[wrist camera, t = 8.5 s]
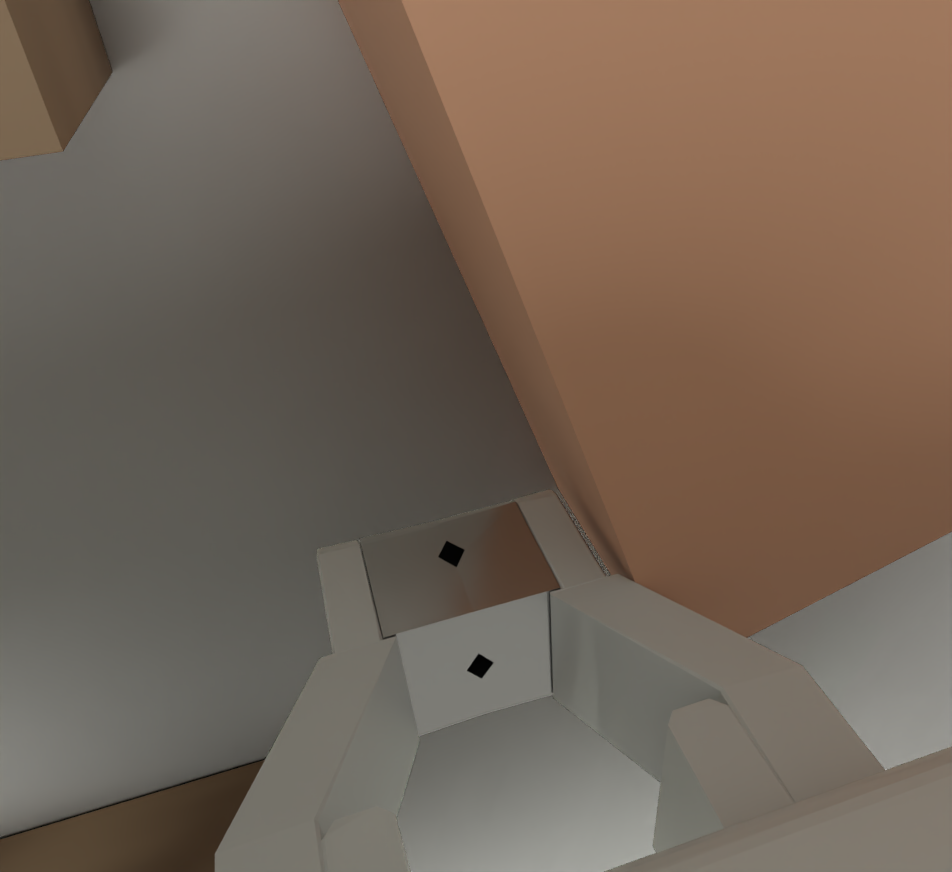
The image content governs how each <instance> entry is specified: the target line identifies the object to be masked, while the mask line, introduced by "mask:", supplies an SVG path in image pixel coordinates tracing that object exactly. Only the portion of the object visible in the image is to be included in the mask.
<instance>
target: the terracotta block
mask: <svg viewBox="0 0 952 872" xmlns="http://www.w3.org/2000/svg"><path fill="white" fill-rule="evenodd" d="M338 2H339V4H340V6H341V9H342V11H343V13H344V15H345V17H346V20H347V22H348V24H349V26H350V29H351V31H352V33H353V35H354V37H355V40H356V42H357V44H358V46H359V48H360V51H361V53H362V55H363V57H364V60H365V62H366V64H367V66H368V68H369V71H370V73H371V75H372V77H373V79H374V82H375V84H376V86H377V88H378V90H379V93H380V95H381V97H382V99H383V102H384V104H385V106H386V108H387V110H388V113H389V115H390V117H391V119H392V121H393V124H394V126H395V128H396V130H397V133H398V135H399V137H400V139H401V141H402V144H403V146H404V148H405V150H406V152H407V155H408V157H409V159H410V161H411V164H412V166H413V168H414V170H415V172H416V175H417V177H418V179H419V181H420V183H421V186H422V188H423V190H424V192H425V195H426V197H427V199H428V201H429V203H430V206H431V208H432V210H433V212H434V214H435V217H436V219H437V221H438V223H439V226H440V228H441V230H442V232H443V234H444V237H445V239H446V241H447V243H448V245H449V248H450V250H451V252H452V254H453V256H454V259H455V261H456V263H457V265H458V268H459V270H460V272H461V274H462V276H463V279H464V281H465V283H466V285H467V287H468V290H469V292H470V294H471V296H472V299H473V301H474V303H475V305H476V307H477V310H478V312H479V314H480V316H481V318H482V321H483V323H484V325H485V327H486V330H487V332H488V334H489V336H490V338H491V341H492V343H493V345H494V347H495V349H496V352H497V354H498V356H499V358H500V361H501V363H502V365H503V367H504V369H505V372H506V374H507V376H508V378H509V380H510V383H511V385H512V387H513V389H514V391H515V394H516V396H517V398H518V400H519V403H520V405H521V407H522V409H523V411H524V414H525V416H526V418H527V420H528V422H529V425H530V427H531V429H532V431H533V434H534V436H535V438H536V440H537V442H538V445H539V447H540V449H541V451H542V453H543V456H544V458H545V460H546V462H547V465H548V467H549V469H550V471H551V473H552V476H553V478H554V480H555V482H556V484H557V487H558V489H559V490H560V492H561V494H562V495H563V497H564V499H565V500H566V502H567V504H568V505H569V507H570V508H571V510H572V512H573V513H574V515H575V517H576V518H577V520H578V522H579V523H580V525H581V526H582V528H583V530H584V531H585V533H586V535H587V536H588V538H589V539H590V541H591V543H592V544H593V546H594V548H595V549H596V551H597V553H598V554H599V556H600V557H601V559H602V561H603V562H604V564H605V566H606V567H607V569H608V571H609V572H610V574H611V575H614V574H620V575H622V576H624V577H626V578H628V579H630V580H632V581H634V582H635V583H638V584H640V585H642V586H644V587H646V588H648V589H650V590H652V591H654V592H656V593H658V594H660V595H662V596H664V597H666V598H668V599H670V600H672V601H674V602H676V603H678V604H680V605H682V606H684V607H686V608H688V609H690V610H692V611H694V612H696V613H698V614H700V615H702V616H704V617H706V618H708V619H710V620H712V621H714V622H716V623H718V624H720V625H722V626H724V627H726V628H728V629H730V630H732V631H734V632H736V633H738V634H740V635H742V636H744V637H746V638H747V637H749V636H751V635H753V634H755V633H757V632H759V631H761V630H763V629H765V628H767V627H769V626H770V625H772V624H774V623H776V622H778V621H780V620H782V619H784V618H786V617H788V616H790V615H792V614H794V613H796V612H798V611H799V610H801V609H803V608H805V607H807V606H809V605H811V604H813V603H815V602H817V601H819V600H821V599H823V598H825V597H826V596H828V595H830V594H832V593H834V592H836V591H838V590H840V589H842V588H844V587H846V586H848V585H850V584H852V583H854V582H855V581H857V580H859V579H861V578H863V577H865V576H867V575H869V574H871V573H873V572H875V571H877V570H879V569H881V568H882V567H884V566H886V565H888V564H890V563H892V562H894V561H896V560H898V559H900V558H902V557H904V556H906V555H908V554H909V553H911V552H913V551H915V550H917V549H919V548H921V547H923V546H925V545H927V544H929V543H931V542H933V541H935V540H937V539H938V538H940V537H942V536H944V535H946V534H948V533H950V532H952V0H338Z"/></svg>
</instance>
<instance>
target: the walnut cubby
mask: <svg viewBox="0 0 952 872" xmlns="http://www.w3.org/2000/svg"><path fill="white" fill-rule="evenodd" d="M111 74H112V69H111V66H110V63H109V60H108V57H107V54H106V51H105V48H104V45H103V42H102V39H101V35H100V32H99V29H98V26H97V23H96V20H95V17H94V14H93V11H92V8H91V5H90V2H89V0H0V160H7V159H14V158H21V157H28V156H35V155H42V154H49V153H56V152H63V151H64V149H65V147H66V146H67V144H68V143H69V141H70V139H71V138H72V136H73V135H74V133H75V131H76V130H77V128H78V127H79V125H80V123H81V122H82V120H83V119H84V117H85V115H86V114H87V112H88V111H89V109H90V107H91V106H92V104H93V103H94V101H95V99H96V98H97V96H98V95H99V93H100V91H101V90H102V88H103V87H104V85H105V83H106V82H107V80H108V79H109V77H110V75H111ZM264 761H265V760H263V761H259V762H256V763H253V764H249V765H246V766H243V767H239V768H236V769H233V770H229V771H226V772H223V773H219V774H216V775H213V776H210V777H206V778H203V779H200V780H196V781H193V782H190V783H186V784H183V785H180V786H176V787H173V788H170V789H166V790H163V791H160V792H156V793H153V794H150V795H146V796H143V797H140V798H136V799H133V800H130V801H126V802H123V803H120V804H116V805H113V806H110V807H107V808H103V809H100V810H97V811H93V812H90V813H87V814H83V815H80V816H77V817H73V818H70V819H67V820H63V821H60V822H57V823H53V824H50V825H47V826H43V827H40V828H37V829H33V830H30V831H27V832H23V833H20V834H17V835H13V836H10V837H7V838H3V839H0V872H215V853H216V851H217V849H218V847H219V845H220V843H221V841H222V840H223V838H224V836H225V834H226V832H227V830H228V828H229V827H230V825H231V823H232V821H233V819H234V817H235V815H236V813H237V812H238V810H239V808H240V806H241V804H242V802H243V800H244V798H245V797H246V795H247V793H248V791H249V789H250V787H251V785H252V784H253V782H254V780H255V778H256V776H257V774H258V772H259V770H260V769H261V767H262V765H263V763H264Z"/></svg>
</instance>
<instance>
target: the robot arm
mask: <svg viewBox="0 0 952 872" xmlns="http://www.w3.org/2000/svg"><path fill="white" fill-rule="evenodd" d="M359 540H360V544H359V541H358V540H353V541H349V542H345V543H340V544H336V545H332V546H327V547H323V548H319V549H317V564H318V570H319V576H320V582H321V588H322V594H323V600H324V606H325V612H326V618H327V624H328V630H329V636H330V643H331V649H332V654H331V655H328V656H324V657H321V658H319V660H318V662H317V664H316V666H315V668H314V670H313V671H312V673H311V675H310V677H309V679H308V681H307V683H306V684H305V686H304V688H303V690H302V692H301V694H300V696H299V698H298V699H297V701H296V703H295V705H294V707H293V709H292V711H291V713H290V714H289V716H288V718H287V720H286V722H285V724H284V726H283V727H282V729H281V731H280V733H279V735H278V737H277V739H276V741H275V742H274V744H273V746H272V748H271V750H270V752H269V754H268V755H267V757H266V759H265V761H264V763H263V765H262V767H261V769H260V770H259V772H258V774H257V776H256V778H255V780H254V782H253V784H252V785H251V787H250V789H249V791H248V793H247V795H246V797H245V798H244V800H243V802H242V804H241V806H240V808H239V810H238V812H237V813H236V815H235V817H234V819H233V821H232V823H231V825H230V827H229V828H228V830H227V832H226V834H225V836H224V838H223V840H222V841H221V843H220V845H219V847H218V849H217V851H216V853H215V872H411V869H410V866H409V862H408V858H407V855H406V851H405V848H404V844H403V841H402V837H401V833H400V830H399V826H398V823H397V816H398V812H399V809H400V806H401V802H402V799H403V796H404V792H405V789H406V786H407V782H408V779H409V776H410V772H411V769H412V766H413V762H414V759H415V756H416V752H417V749H418V746H419V743H420V739H419V736H422V735H425V734H428V733H431V732H434V731H437V730H440V729H443V728H446V727H449V726H452V725H455V724H458V723H461V722H463V721H466V720H469V719H472V718H475V717H478V716H481V715H484V714H487V713H491V712H494V711H498V710H502V709H505V708H509V707H512V706H516V705H519V704H523V703H527V702H530V701H534V700H537V699H541V698H544V697H548V696H551V695H553V699H555V700H556V701H557V702H558V703H560V704H561V705H562V706H564V707H565V708H566V709H567V710H569V711H570V712H571V713H573V714H574V715H575V716H576V717H578V718H579V719H580V720H581V721H583V722H584V723H585V724H587V725H588V726H589V727H590V728H592V729H593V730H594V731H595V732H597V733H598V734H599V735H601V736H602V737H603V738H604V739H606V740H607V741H608V742H610V743H611V744H612V745H613V746H615V747H616V748H617V749H618V750H620V751H621V752H622V753H624V754H625V755H626V756H627V757H629V758H630V759H631V760H632V761H634V762H635V763H636V764H638V765H639V766H640V767H641V768H643V769H644V770H645V771H647V772H648V773H649V774H650V775H652V776H653V777H654V778H655V779H657V780H658V781H659V782H661V784H660V792H659V799H658V807H657V815H656V823H655V831H654V838H653V848H654V850H655V852H656V853H654V854H651V855H649V856H646V857H643V858H640V859H638V860H635V861H632V862H629V863H626V864H624V865H621V866H618V867H615V868H613V869H610V870H607V871H604V872H952V746H951V747H949V748H946V749H943V750H940V751H938V752H935V753H932V754H929V755H926V756H924V757H921V758H918V759H915V760H913V761H910V762H907V763H904V764H901V765H899V766H896V767H893V768H890V769H888V770H885V769H884V768H883V767H882V766H881V764H880V763H879V762H878V761H877V759H876V758H875V757H874V755H873V754H872V753H871V752H870V750H869V749H868V748H867V747H866V745H865V744H864V743H863V742H862V740H861V739H860V738H859V736H858V735H857V734H856V733H855V731H854V730H853V729H852V728H851V726H850V725H849V724H848V723H847V721H846V720H845V719H844V718H843V716H842V715H841V714H840V712H839V711H838V710H837V709H836V707H835V706H834V705H833V704H832V702H831V701H830V700H829V699H828V697H827V696H826V695H825V693H824V692H823V691H822V690H821V688H820V687H819V686H818V685H817V683H816V682H815V681H814V680H813V678H812V677H811V676H810V675H809V673H808V672H807V671H806V669H805V668H804V667H803V666H802V665H800V664H798V663H796V662H794V661H792V660H790V659H788V658H786V657H784V656H782V655H780V654H778V653H776V652H774V651H772V650H770V649H768V648H766V647H764V646H762V645H760V644H758V643H756V642H754V641H752V640H750V639H748V638H746V637H744V636H742V635H740V634H738V633H736V632H734V631H732V630H730V629H728V628H726V627H724V626H722V625H720V624H718V623H716V622H714V621H712V620H710V619H708V618H706V617H704V616H702V615H700V614H698V613H696V612H694V611H692V610H690V609H688V608H686V607H684V606H682V605H680V604H678V603H676V602H674V601H672V600H670V599H668V598H666V597H664V596H662V595H660V594H658V593H656V592H654V591H652V590H650V589H648V588H646V587H644V586H642V585H640V584H638V583H635V582H634V581H632V580H630V579H628V578H626V577H624V576H622V575H620V574H614V575H610V576H606V575H605V573H604V571H603V570H602V568H601V567H600V565H599V563H598V562H597V560H596V558H595V557H594V555H593V553H592V552H591V550H590V549H589V547H588V545H587V544H586V542H585V540H584V539H583V537H582V535H581V534H580V532H579V530H578V529H577V527H576V526H575V524H574V522H573V521H572V519H571V517H570V516H569V514H568V512H567V511H566V509H565V508H564V506H563V504H562V503H561V501H560V499H559V498H558V496H557V494H556V493H555V492H553V491H552V490H550V489H548V490H545V491H541V492H537V493H534V494H530V495H527V496H523V497H519V498H516V499H513V500H512V501H506V502H503V503H499V504H495V505H491V506H488V507H484V508H480V509H476V510H473V511H469V512H465V513H461V514H458V515H454V516H450V517H446V518H442V519H439V520H435V521H431V522H427V523H423V524H418V525H414V526H410V527H405V528H401V529H397V530H392V531H388V532H384V533H380V534H375V535H371V536H367V537H362V538H359ZM360 545H361V548H360ZM361 549H362V552H361ZM362 554H363V556H362ZM363 558H364V560H363ZM364 562H365V564H364ZM365 567H366V568H365ZM366 571H367V572H366ZM367 575H368V576H367ZM368 579H369V580H368ZM369 583H370V585H369ZM370 588H371V589H370ZM371 592H372V593H371ZM372 596H373V597H372Z"/></svg>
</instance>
